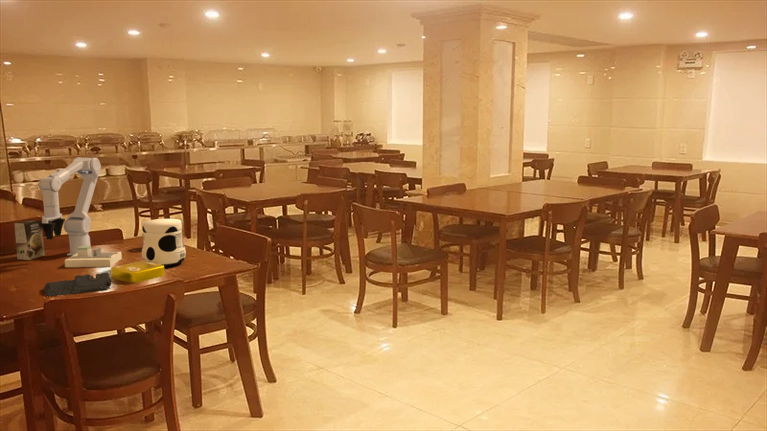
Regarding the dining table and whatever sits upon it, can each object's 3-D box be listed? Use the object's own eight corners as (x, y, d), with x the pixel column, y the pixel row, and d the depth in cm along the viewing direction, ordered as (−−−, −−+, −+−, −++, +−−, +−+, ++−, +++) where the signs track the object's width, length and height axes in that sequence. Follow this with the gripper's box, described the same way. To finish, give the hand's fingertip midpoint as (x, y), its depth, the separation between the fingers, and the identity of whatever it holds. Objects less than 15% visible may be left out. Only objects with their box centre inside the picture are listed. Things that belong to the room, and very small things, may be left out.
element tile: (167, 276, 243) (166, 264, 243) (133, 284, 231) (132, 272, 230) (143, 270, 252) (142, 259, 251) (109, 278, 239) (108, 266, 239)
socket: (78, 259, 268) (78, 251, 268) (121, 258, 270) (121, 250, 269) (65, 267, 255) (64, 259, 254) (110, 266, 256) (109, 258, 255)
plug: (82, 262, 264) (81, 245, 263) (92, 261, 264) (90, 245, 263) (78, 264, 260) (77, 247, 259) (88, 264, 260) (87, 247, 259)
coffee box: (29, 260, 266) (26, 223, 264) (17, 259, 268) (13, 222, 265) (45, 255, 275) (42, 219, 273) (32, 254, 277) (29, 219, 274)
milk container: (140, 261, 264) (137, 220, 261) (182, 257, 272) (180, 217, 269) (145, 271, 249) (142, 227, 246) (189, 266, 257) (187, 223, 254)
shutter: (98, 253, 265) (98, 247, 264) (114, 253, 266) (113, 246, 265) (92, 257, 259) (92, 250, 258) (109, 257, 259) (108, 250, 259)
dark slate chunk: (44, 288, 227) (43, 275, 226) (110, 280, 237) (109, 268, 236) (43, 299, 213) (42, 286, 213) (113, 291, 223) (112, 278, 223)
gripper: (49, 203, 267) (51, 234, 270) (33, 208, 253) (36, 240, 255) (66, 203, 268) (68, 234, 270) (51, 208, 254) (53, 240, 256)
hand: (53, 237), depth 263 cm, fingers open, 7 cm apart
